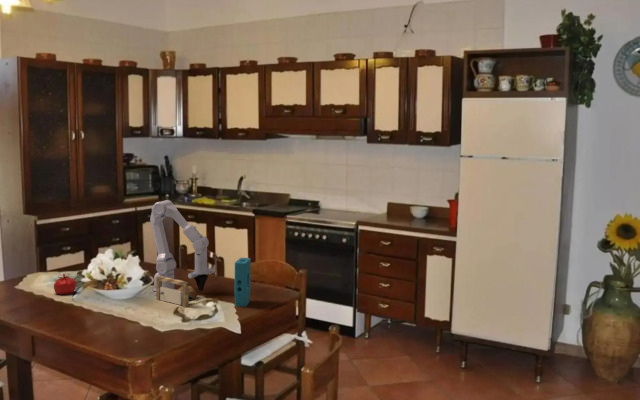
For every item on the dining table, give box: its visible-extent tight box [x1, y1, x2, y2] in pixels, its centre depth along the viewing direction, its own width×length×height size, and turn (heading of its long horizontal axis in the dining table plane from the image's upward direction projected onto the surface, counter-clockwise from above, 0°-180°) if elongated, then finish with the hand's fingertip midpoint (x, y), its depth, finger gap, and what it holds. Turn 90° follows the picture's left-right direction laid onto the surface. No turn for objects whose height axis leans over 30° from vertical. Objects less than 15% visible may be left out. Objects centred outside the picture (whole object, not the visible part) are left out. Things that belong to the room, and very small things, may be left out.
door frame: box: [155, 276, 189, 308], centre depth 274 cm, size 19×2×11 cm, turn 55°
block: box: [234, 257, 252, 307], centre depth 275 cm, size 12×5×20 cm, turn 174°
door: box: [159, 287, 183, 306], centre depth 274 cm, size 15×2×6 cm, turn 55°
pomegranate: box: [53, 273, 78, 295], centre depth 287 cm, size 10×10×9 cm
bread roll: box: [177, 285, 198, 302], centre depth 282 cm, size 10×10×8 cm
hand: (200, 290), depth 290 cm, fingers closed
